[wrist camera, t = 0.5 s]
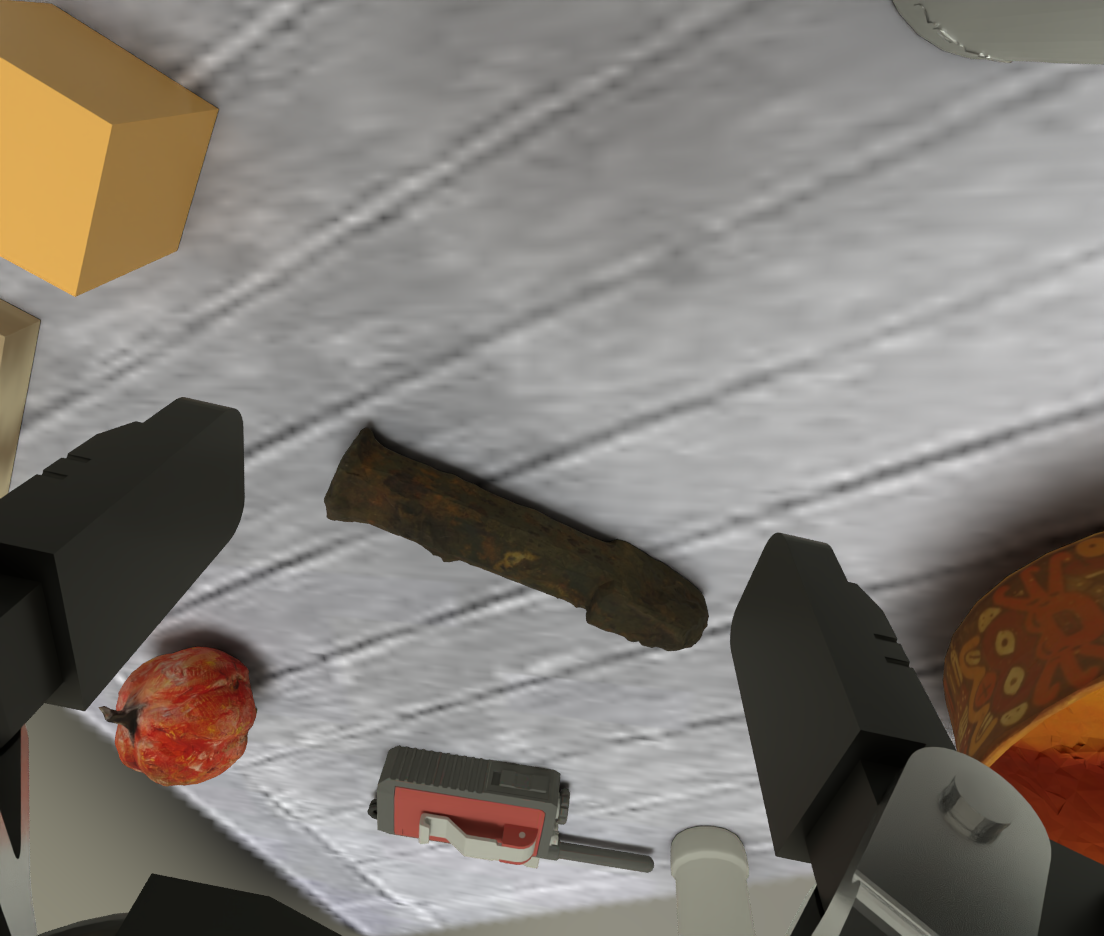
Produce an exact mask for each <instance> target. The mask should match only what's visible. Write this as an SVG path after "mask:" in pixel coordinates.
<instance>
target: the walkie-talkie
mask: <svg viewBox="0 0 1104 936" xmlns="http://www.w3.org/2000/svg"><path fill="white" fill-rule="evenodd" d="M559 784H560V773H558V772H557V771H555V770H551V769H545V768H539V767H532V766H526V765H520V764H513V763H507V762H501V761H494V760H483V759H482V758H480V759H476V758H475V757H472V758H470V757H467V756H458V755H451V754H450V753H447V754H444V753H442V752H439V753H438V752H434V751H426V750H425V749H422V750H419V749H417V748H414V749H413V748H409V747H401V746H400V745H399V746H397V747H395V748H392V749H390V750H389V752H388V755H387V758H386V761H385V764H384V767H383V770H382V773H381V776H380V779H379V782H378V787H377V799H374V800H372V801H371V803H370V805H369V809H368V814H369V815H370V816H371V817H372V818H374V819H377V824H378V830H381V831H383V832H386V833H389V834H394V835H400V836H406V837H412V838H419V843H420V844H427V843H429V840H431V841H437V842H443V843H450V844H452V845H453V846H454V847H455V848H456V849H457V850H458V851H459V852H460V853H461V854H462V855H463V856H466V857H472V858H478V859H485V860H491V861H493V860H497V861H500V862H504V863H509V864H515V865H521V864H522V865H525V866H527V867H532V868H537V867H538V863H539V858H543V859H549V860H556V861H557V860H558V859H559V858H560V859H566V860H572V861H578V862H584V863H591V864H597V865H603V866H609V867H615V868H621V869H628V870H634V871H640V872H646V873H648V872H651V871H652V870H653V868H654V861H653V860H652V858H651V857H650V856H646V855H640V854H633V853H627V852H621V851H615V850H609V849H602V848H596V847H590V846H583V845H577V844H571V843H565V842H560V840H559V839H558V834H559V831H558V824H563V825H564V824H565V823H566V821H567V816H568V808H569V799H570V792H569V790H568V789H564V788H563V789H562V790H561V792H560V793H559ZM555 819H557V821H555Z"/></svg>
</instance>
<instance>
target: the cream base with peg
mask: <svg viewBox="0 0 1104 936" xmlns="http://www.w3.org/2000/svg"><path fill="white" fill-rule="evenodd" d="M40 321H41V320H39V319H37V318H35V317H33V316H31V315H29V314H28V313H26V312H24V311H22V310H20V309H18V308H16V307H14V306H12V305H11V304H9V303H7V302H5V301H3V300H1V299H0V498H2V497H3V496H5V495H6V494H8V490H9V485H10V480H11V474H12V469H13V464H14V459H15V453H16V448H17V443H18V437H19V432H20V427H21V422H22V416H23V411H24V406H25V400H26V395H27V390H28V384H29V379H30V374H31V369H32V363H33V358H34V353H35V347H36V342H37V337H38V331H39V326H40Z"/></svg>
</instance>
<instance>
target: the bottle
mask: <svg viewBox="0 0 1104 936" xmlns="http://www.w3.org/2000/svg"><path fill="white" fill-rule="evenodd" d="M670 857H671V875H672V876H673V878H674V879H675V880H676V897H677V919H678V936H755V930H754V923H753V917H752V911H751V905H750V899H749V893H748V887H747V882H746V879H747V878H748V877H749V867H748V861H747V856H746V852H745V849H744V847H743V845H742V843H741V841H740V840H739V838H738V837H737V836H736V835H735V834H733V833H732V832H730V831H728V830H726V829H722V828H718V827H714V826H698V827H694V828H689V829H686V830H684V831H682V832H681V833H679V834H677V836H676V837H675V839H674V840H673V842H672V845H671V855H670Z"/></svg>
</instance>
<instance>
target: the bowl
mask: <svg viewBox="0 0 1104 936" xmlns="http://www.w3.org/2000/svg"><path fill="white" fill-rule="evenodd" d="M943 685H944V692H945V700H946V704H947V708H948V712H949V716H950V720H951V725H952V729H953V733H954V737H955V742H956V749H957V752H960V753H963V754H965V755H967V756H969V757H971V758H974V759H976V760H977V761H979V762H981V763H982V764H984V765H986V766H987V767H989V768H990V769H992V770H993V771H995V772H996V773H997V774H999V775H1000V776H1001V777H1003V778H1004V779H1005V780H1006V781H1007V782H1009V783H1010V784H1011V785H1012V786H1013V787H1014V788H1015V789H1016V790H1017V791H1018V792H1019V793H1020V794H1021V795H1022V796H1023V797H1024V798H1025V800H1026V801H1027V802H1028V803H1029V804H1030V805H1031V807H1032V808H1033V810H1034V811H1035V812H1036V814H1037V815H1038V817H1039V818H1040V820H1041V822H1042V824H1043V826H1044V827H1045V830H1046V832H1047V835H1048V837H1049V839H1050V840H1053V841H1055V842H1057V843H1059V844H1061V845H1063V846H1065V847H1067V848H1069V849H1071V850H1073V851H1076V852H1078V853H1080V854H1082V855H1084V856H1086V857H1088V858H1090V859H1092V860H1094V861H1096V862H1099V863H1101V864H1103V865H1104V531H1103V532H1100V533H1096V534H1093V535H1091V536H1088V537H1086V538H1083V539H1081V540H1078V541H1076V542H1073V543H1071V544H1068V545H1066V546H1063V547H1061V548H1058V549H1056V550H1054V551H1051V552H1049V553H1047V554H1045V555H1043V556H1042V557H1040V558H1038V559H1037V560H1035V561H1033V562H1031V563H1030V564H1028V565H1026V566H1024V567H1023V568H1021V569H1019V570H1018V571H1016V572H1014V573H1012V574H1011V575H1009V576H1007V577H1006V578H1005V579H1004V580H1003V581H1001V582H1000V583H999V584H998V585H997V586H995V587H994V588H993V589H992V590H991V591H989V592H988V593H987V594H986V595H985V596H983V597H982V598H981V599H980V600H979V601H978V602H976V604H975V605H974V607H973V608H972V609H971V611H970V612H969V614H968V615H967V616H966V618H965V619H964V620H963V622H962V623H961V625H960V626H959V627H958V629H957V630H956V631H955V633H954V634H953V637H952V639H951V642H950V645H949V648H948V651H947V654H946V657H945V662H944V674H943Z"/></svg>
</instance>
